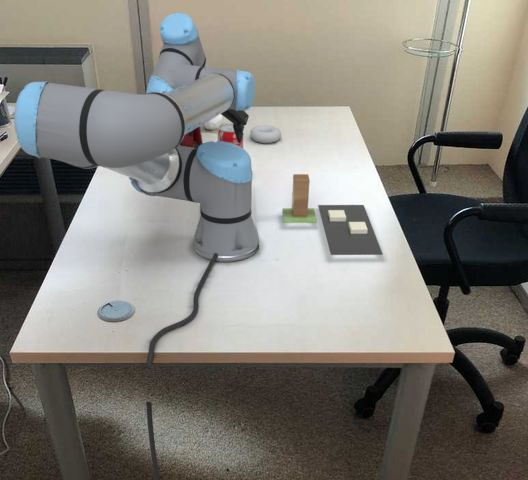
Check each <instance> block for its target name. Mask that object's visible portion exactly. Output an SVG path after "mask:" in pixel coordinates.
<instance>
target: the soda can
mask: <svg viewBox="0 0 528 480" xmlns="http://www.w3.org/2000/svg"><path fill="white" fill-rule="evenodd" d="M217 141H223V142H228V143H232V144H235V145H237V146H240V147H241V148H243V149H244V137H243V138H242V141H241V143H238V141H237V138H236V135H235V132H234V129H233V123H224V124H221V125H220V126H219V127H218V131H217Z"/></svg>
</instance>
